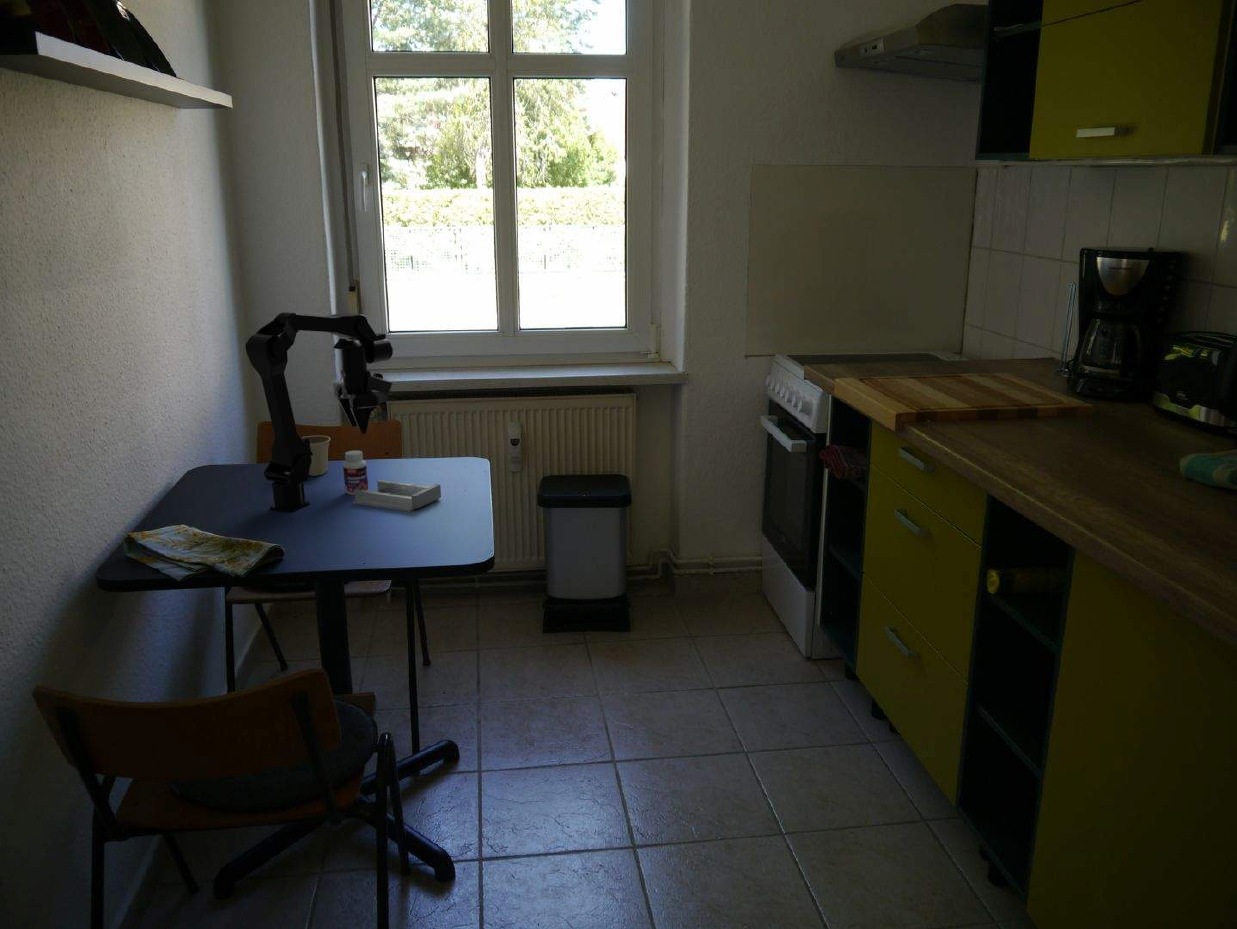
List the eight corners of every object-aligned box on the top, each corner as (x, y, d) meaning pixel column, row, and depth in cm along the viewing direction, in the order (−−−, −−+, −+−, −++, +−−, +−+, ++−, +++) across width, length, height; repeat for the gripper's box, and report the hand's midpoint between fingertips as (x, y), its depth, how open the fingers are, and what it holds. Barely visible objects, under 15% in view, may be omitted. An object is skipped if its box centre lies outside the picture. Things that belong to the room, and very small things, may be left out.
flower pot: (287, 475, 260) (283, 442, 257) (313, 466, 268) (310, 434, 265) (315, 480, 256) (311, 446, 253) (341, 470, 264) (338, 437, 261)
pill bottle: (347, 496, 242) (343, 456, 239) (343, 490, 246) (340, 451, 244) (370, 493, 244) (367, 453, 241) (366, 487, 248) (363, 448, 246)
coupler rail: (414, 512, 229) (413, 497, 228) (353, 503, 236) (351, 488, 235) (443, 498, 239) (442, 483, 238) (383, 490, 246) (382, 475, 245)
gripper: (398, 369, 242) (402, 434, 246) (377, 358, 258) (381, 419, 262) (351, 372, 237) (355, 439, 241) (332, 362, 253) (337, 424, 257)
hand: (358, 430), depth 250 cm, fingers open, 9 cm apart
